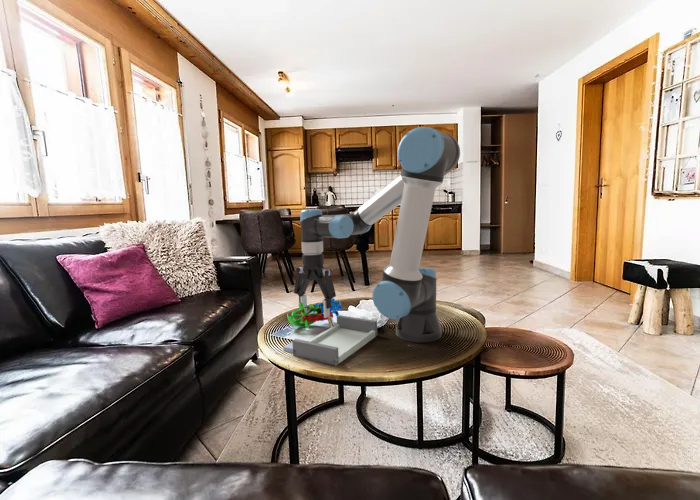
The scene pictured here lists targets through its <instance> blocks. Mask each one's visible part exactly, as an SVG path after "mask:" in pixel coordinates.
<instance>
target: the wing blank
mask: <svg viewBox="0 0 700 500" xmlns="http://www.w3.org/2000/svg"><path fill="white" fill-rule="evenodd" d="M298 339H299V338H298ZM299 340H301V339H299ZM303 340H304V339H303ZM304 341H306V340H304ZM282 351H284V352H287V353H291V354H293V344H292V341H291V342H290V343H288V344H285V345H284V346H283V349H282Z"/></svg>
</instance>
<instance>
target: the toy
mask: <svg viewBox="0 0 700 500" xmlns="http://www.w3.org/2000/svg"><path fill="white" fill-rule="evenodd" d="M305 308H307V309H308V310H307V312H306V313H305V310H304V309H305ZM342 309H343V308H342V304H341V301H340V300H336V299H335V297H334V298H331V308H330V316H329V317H327V318H324V308H323V302H321V303H319V302H317V303H315V304H309V306H307V307H304V306H303V303H299V302H298V309H293V310H292V311H291V315H290V313H287V320H288V321H287V322H288V323H289V324H290V325H291V326H292V325H293V326H295V327H305V328H310V326H311V325H312V324H315V323H316V322H320V321H321V322H324V321H325V320H326V321H328V325H329V328H331V327H333V326H334V325H335V323H334V322H335V321H334V319H333V318H334V315H333V314H335V317H337V316H338V315H340V313H339V311H338V310H340V312H342V311H343V310H342ZM298 312H300V313H301V312H302V313H303V314H298ZM297 318H298V319H297Z"/></svg>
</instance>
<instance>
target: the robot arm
mask: <svg viewBox="0 0 700 500" xmlns="http://www.w3.org/2000/svg"><path fill="white" fill-rule="evenodd" d="M397 147H398V148H397V160H398V162H399V164H400V166H401V171H400V174H399V175H398V176H397V177H395V178H394V179H393V180H392V181H391V182H389V183H388V184H387V185H386V186H384V187H383V188H382V189H381V190H379V191H378V192H377V193H376V194H374V195H373V196H371V198H369V199H368V200H366V201H365V203H363V204H362V205H361V206H359V208H357V209H356V210H354V211H353V212H352V213H345V214H323V211H322V209H319V208H316V209H315V208H312V209H310V208H309V209H302V210H301V211H300V217H299V218H300V220H299V222H300V234H301V235H300V237H301V253H302V255H301V260H302V262H301V263H302V265H303V267H302V266H300V267H297V268H295V271H296V278H295V282H294V284H295V285H294V290H293V293H294V295H298V304H299V303H303V306H304V307H308V299H307V294H306V291H307V289H308V286H309V284H310V282H311V280H313V281H315V282H316V283H317V284H318V286H319V289H320V291H321V293H322V295H323V297H324V298H323V299H322V303H323V308H324V313H323V314H324V318H327V317H329V316H330V308H331V298H334V299H335V297H337V294H336V289H335V286H334V282H333V277H332V269H331V268H330V269H326V268H324V263H325V261H324V259H325V258H324V257H325V256H324V253H323V252H324V238H332V239H334V238H335V239H346V238H349V237H350V236H354V235H362V234H365V233H367V232H369V231H370V229H371V228H372V225H373V224H375V223H376V222H378V221H379V220H381V218H383V217H384V216H386V215H387V214H388V213H390V212H392V211H393V210H394V209H395V208H397V207H398V206H399V205H400V207H399V210H398V211H399V213H398V217H397V223H396V228H395V233H394V239H393V244H392V250H391V255H390V260H389V264H387V265H386V266H384V268H383V271H382V276H381V281H379V282H378V283H377V284H376V285H375V286H374V288H373V291H372V295H371V296H372V302H373V305H374V307H375V308H376V309H377V311H378V312H379V313H380V315H382V316H384V317H385V318H387V319H391V320H397V319H398V320H397V322H396V326H395V335H396V337H397V338H399V339H401V340H403V341H407V342H410V343H431V342H435V341H439V340H440V339H441V338H442V336H443V332H442V329H443V328H442V326H441V322H440V320H439V317H438V314H437V280H438V278H437V272H436V270H435V269H434V268H432V267H428V266H427V267H426V266H420V265H421V262H422V261H421V259H422V255H423V251H424V245H425V240H426V237H427V236H426V235H427V232H428V226H429V222H430V218H431V217H430V216H431V212H432V208H433V203H434V197H435V193H436V188H438V187H439V186H441V185H442V184H443V182H444V177H445V176H446V175H447V174H449V173H450V172H451V171H452V170H453V169H455V168H456V166H457V165H458V163H459V161H460V156H461V150H460V149H461V148H460V145H459V143H458V141H457V139H456V138H455V137H454V136H452V135H451V134H449V133H447V132H443V131H441V130H438V129H436V128H434V127H427V126H417V127H414V128H412V129H411V130H409V131H408V132H407V133H406V134H404V136H403V137H402V138H401V140H400V142H399V143H398V146H397ZM304 310H305V313H307V312H308V308H305V309H304ZM300 313H301V315H302V314H303V313H302V312H301V311H300Z"/></svg>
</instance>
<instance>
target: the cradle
mask: <svg viewBox="0 0 700 500" xmlns="http://www.w3.org/2000/svg"><path fill="white" fill-rule="evenodd" d="M377 336H378V321H377V320H375V319H374V320H373V319H368V318H360V317H353V316H349V315H348V316H347V315H340V314H339V315H338V316H336V324H334V326H333V327H331V328H330V327H329V328H328V329H326V330H324V331H322V332H320V333H319V334H317V335H316V336H314V337H312V338H310V339H309V340H305V341H304V339H300V340H299V338H294V339H292V341H291V342H292V344H293V353H292V356H293V357H297V358H302V359H307V360H311V361H315V362H318V363H323V364H327V365H330V366H331V365H332V366H335V367H336V366H338V365H339V364H341V363H342V362H343V361H344V360H346V359H347V358H348V357H350V356H351V355H353V354H355V353H356V352H357V351H358V350H361V348H362V347H364V346H365V345H366V344H368V343H369V342H370V341H372V340H373V339H375V338H376V337H377Z"/></svg>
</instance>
